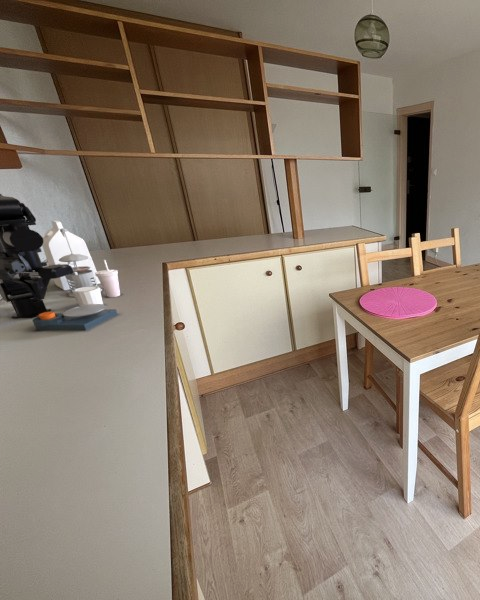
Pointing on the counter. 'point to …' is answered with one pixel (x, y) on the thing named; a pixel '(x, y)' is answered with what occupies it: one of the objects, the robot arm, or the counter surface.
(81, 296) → the white short tapered cylinder
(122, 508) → the counter surface
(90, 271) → the french press
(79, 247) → the milk
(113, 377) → the counter surface
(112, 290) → the smoothie
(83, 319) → the scale
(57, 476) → the counter surface
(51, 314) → the tare button
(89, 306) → the weighing pan
